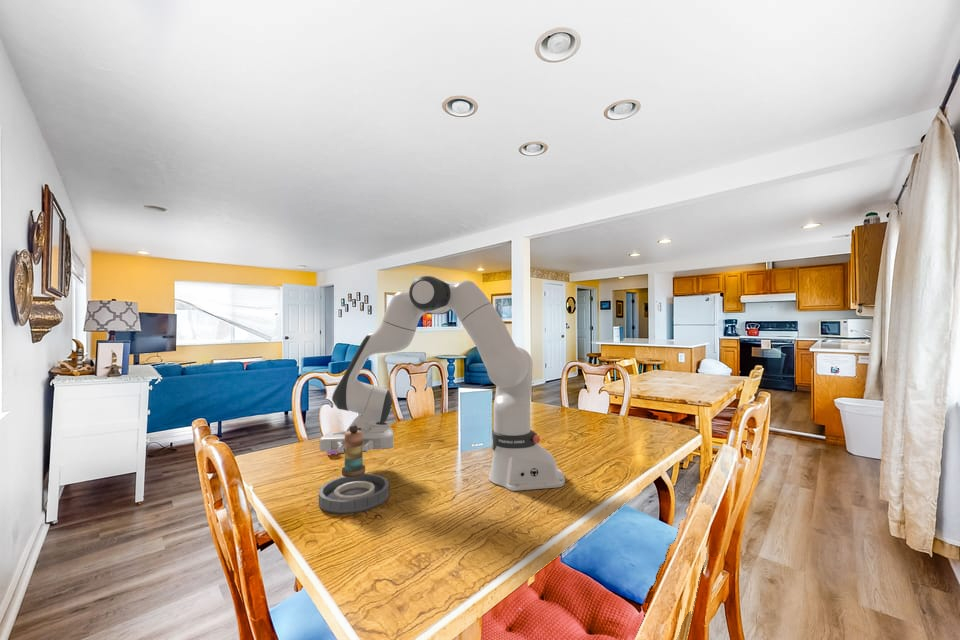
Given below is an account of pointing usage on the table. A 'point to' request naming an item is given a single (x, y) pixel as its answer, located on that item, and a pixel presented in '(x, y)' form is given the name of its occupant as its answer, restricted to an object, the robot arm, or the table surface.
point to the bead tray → (353, 494)
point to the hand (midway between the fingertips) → (353, 449)
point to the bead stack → (353, 453)
